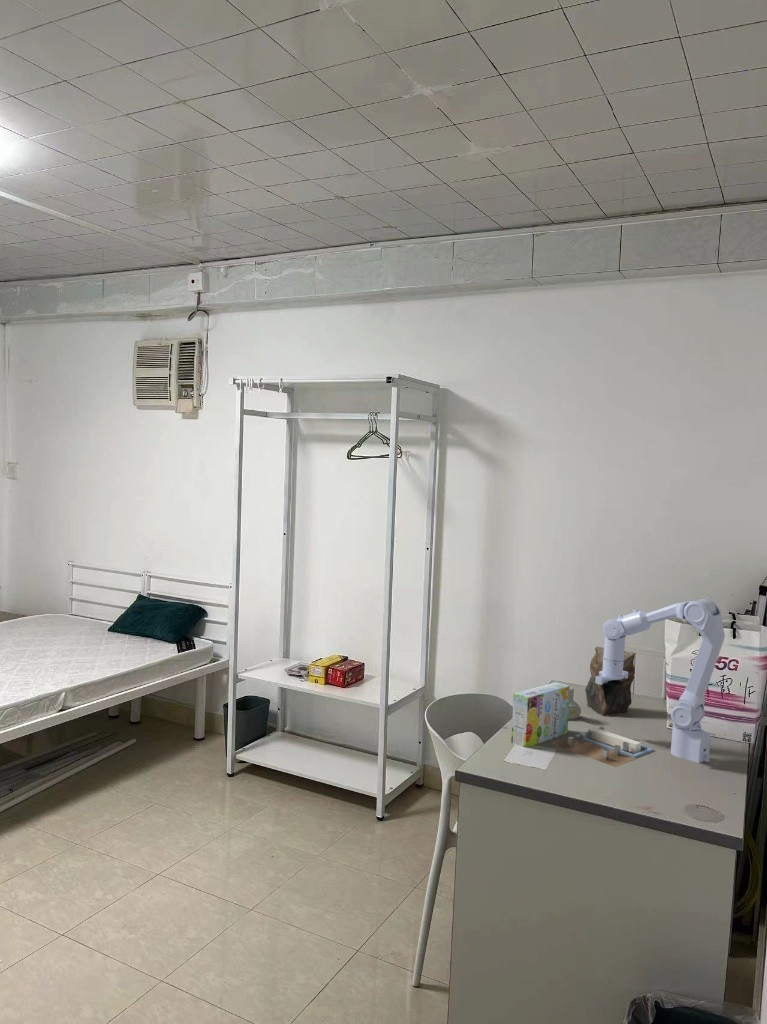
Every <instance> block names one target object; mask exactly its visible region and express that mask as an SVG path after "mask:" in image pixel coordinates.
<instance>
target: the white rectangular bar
mask: <svg viewBox="0 0 767 1024" xmlns="http://www.w3.org/2000/svg"><path fill="white" fill-rule="evenodd" d="M590 730H591V731H594V739H595V740H598V741H601V742H604V743H607V744H610V745H613V746H615V745H619V746H621V749H623V742H628V743H629V751H630V752H633V753H637V752H640V750H641V745H642V742H641V741H640V742H638V741H635V740H634V739H631V738H629V737H628V738H627V737H625V736H621V735H619V734H616V733H613V732H610V731H607V730H605V731H604V730H601V729H599V727H598V728H597V727H595V726H593V727H590V728H588V729H587V731H590Z"/></svg>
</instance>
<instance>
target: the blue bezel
mask: <svg viewBox="0 0 767 1024" xmlns="http://www.w3.org/2000/svg"><path fill="white" fill-rule="evenodd" d="M582 733H583V734H586V735H588V730H587V731H585V732H582ZM579 734H580V733H578V734H575V735H573V736H574V737H575V738H578V739H579ZM585 741H587V742H590V743H593V744H596V745H598V746H601V747H604V748H607V749H610V750H613V751H614V747H611V746H608V745H605V744H602V743H599V742H596V741H593V740H590V739H587V738H585ZM641 748H643V749H646V750H643V751H641V752H638V753H635V754H631V753H628V752H625V751H622V750H620V753H622V754H625V755H627V756H630V757H633V758H636V757H638V756H641V755H644V754H646V753H649V752H652V751H653V750H654V748H652V747H648V746H646V745H643V744H641Z"/></svg>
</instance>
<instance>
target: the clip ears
mask: <svg viewBox="0 0 767 1024" xmlns="http://www.w3.org/2000/svg"><path fill="white" fill-rule="evenodd" d="M598 729H601V730H604V731H606V727H603V726H600V727H598ZM587 731H588V730H587ZM583 733H584V732H581V733H578V734H579V743H582V744H584V743H585V736H586V734H583ZM567 738H568V744H567V746H568V747H574V738H573V736H569V737H567ZM588 739H590V740H594V731H591V730H590V731H588ZM640 739H641V738H637V737H635V738H633V740H635V741H638V742H641V740H640ZM620 750H621V746H619V745H615V746H614V755H616V756H619V755H620ZM622 751H625V752H629V743H628V742H623V750H622ZM602 759H604V760H608V759H609V750H608V749H603V757H602Z"/></svg>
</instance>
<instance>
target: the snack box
mask: <svg viewBox="0 0 767 1024" xmlns="http://www.w3.org/2000/svg"><path fill="white" fill-rule="evenodd" d="M570 686H571V685H568V684H564V683H560V682H557V681H555V682H551V683H548V684H544V685H540V686H537V687H533V688H528V689H525V690H522V691H520V692H519V691H517V692H514V693H513V698H512V718H511V719H512V721H511V737H510V738H511V739H510V740H511V741H510V743H511V744H515V745H518V746H520V747H523V748H529V747H532V746H536V745H538V744H541V743H543V742H546V741H549V740H552V739H554V738H558V737H560V736H563V735H566V734H568V731H569V730H568V729H569V727H568V726H569V719H568V712H569V692H570Z"/></svg>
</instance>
